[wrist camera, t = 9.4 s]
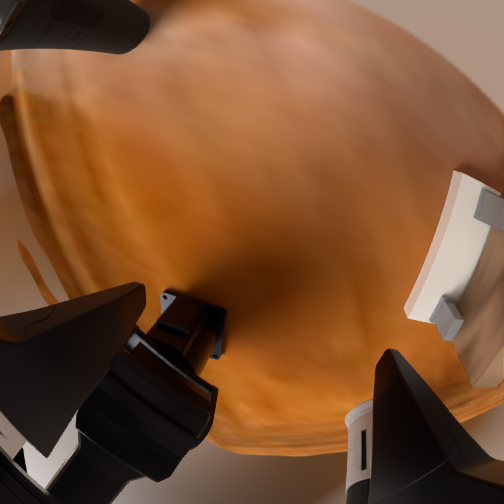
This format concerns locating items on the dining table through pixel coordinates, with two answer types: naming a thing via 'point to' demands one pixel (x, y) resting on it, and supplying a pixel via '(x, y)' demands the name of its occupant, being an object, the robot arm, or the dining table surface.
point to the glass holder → (359, 452)
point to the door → (484, 317)
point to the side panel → (454, 253)
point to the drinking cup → (72, 25)
